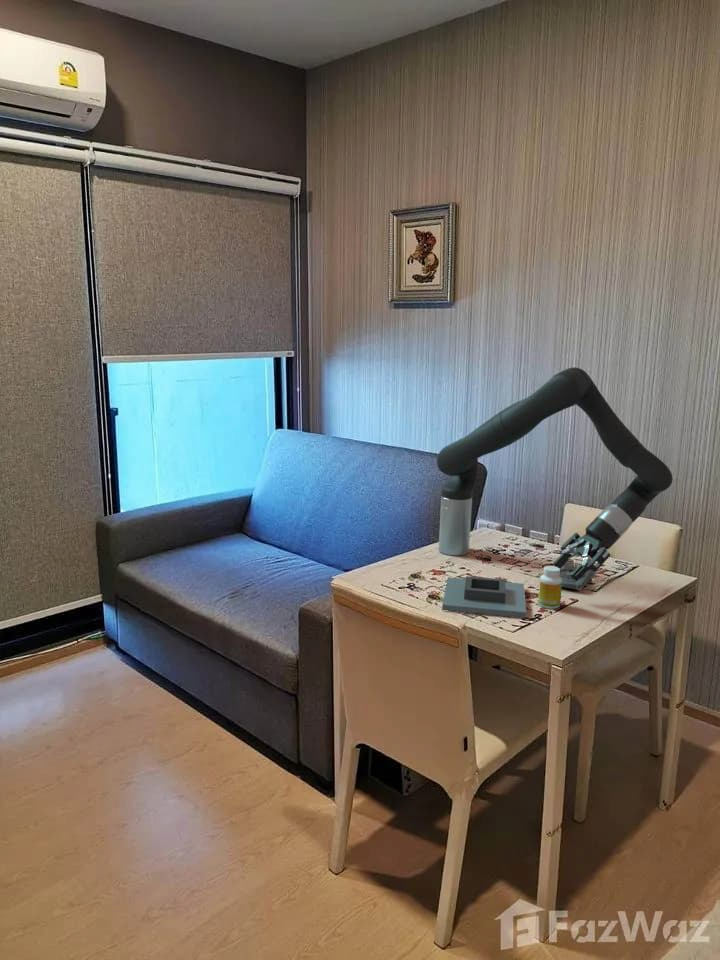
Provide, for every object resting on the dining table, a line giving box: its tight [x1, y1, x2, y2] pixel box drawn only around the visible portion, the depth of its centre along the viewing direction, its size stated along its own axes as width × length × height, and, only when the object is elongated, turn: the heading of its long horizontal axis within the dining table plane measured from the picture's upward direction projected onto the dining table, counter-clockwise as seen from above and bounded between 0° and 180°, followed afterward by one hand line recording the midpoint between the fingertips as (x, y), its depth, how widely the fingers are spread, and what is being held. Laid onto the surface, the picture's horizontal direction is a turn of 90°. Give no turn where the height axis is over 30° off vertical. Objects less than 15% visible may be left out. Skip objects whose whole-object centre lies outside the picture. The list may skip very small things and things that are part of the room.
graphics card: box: [553, 560, 597, 591], centre depth 204 cm, size 17×4×12 cm
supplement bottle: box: [537, 565, 563, 610], centre depth 186 cm, size 5×5×10 cm
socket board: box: [441, 575, 527, 619], centre depth 189 cm, size 20×20×4 cm
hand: (564, 572), depth 186 cm, fingers open, 8 cm apart
